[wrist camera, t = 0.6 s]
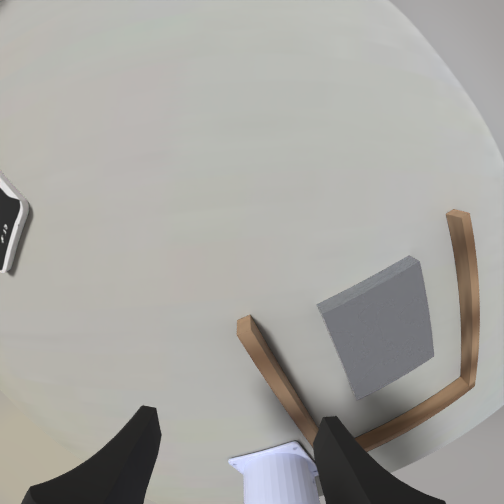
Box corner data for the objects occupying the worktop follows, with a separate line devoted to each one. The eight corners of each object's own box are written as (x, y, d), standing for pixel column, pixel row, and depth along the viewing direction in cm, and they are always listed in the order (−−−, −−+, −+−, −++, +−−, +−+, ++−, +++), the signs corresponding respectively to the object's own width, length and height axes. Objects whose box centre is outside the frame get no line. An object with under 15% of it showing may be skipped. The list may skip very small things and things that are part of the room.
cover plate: (423, 345, 22) (434, 356, 20) (350, 386, 22) (357, 400, 20) (405, 253, 19) (419, 261, 17) (314, 301, 20) (321, 314, 18)
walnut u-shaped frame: (466, 376, 23) (474, 386, 21) (324, 454, 25) (328, 467, 23) (453, 209, 18) (469, 213, 16) (237, 320, 19) (236, 335, 18)
